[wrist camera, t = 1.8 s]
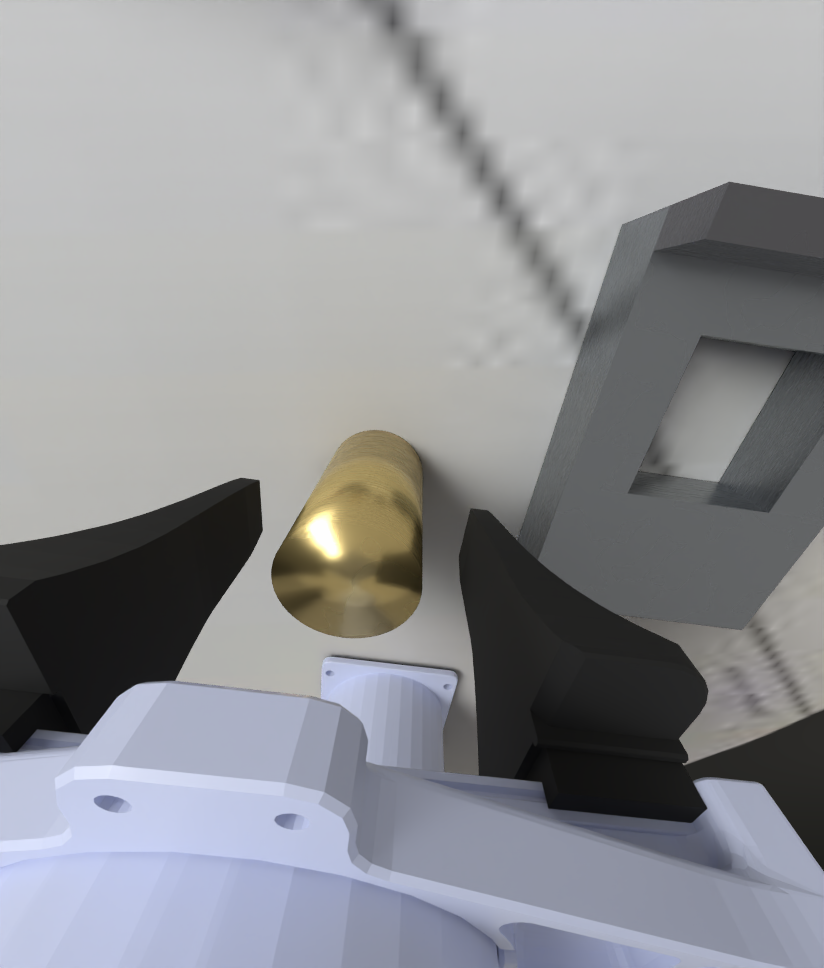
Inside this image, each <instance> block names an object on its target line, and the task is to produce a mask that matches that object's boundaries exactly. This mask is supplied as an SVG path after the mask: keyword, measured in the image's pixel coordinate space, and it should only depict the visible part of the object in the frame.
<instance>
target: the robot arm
mask: <svg viewBox="0 0 824 968" xmlns="http://www.w3.org/2000/svg"><path fill="white" fill-rule="evenodd" d="M262 531H263V527H262V512H261V497H260V482H259V480H254V479H246V478H239V479H235V480H232V481H230V482H227V483H224V484H222V485H219V486H217V487H214V488H212V489H210V490H207V491H205V492H202V493H200V494H197V495H195V496H192V497H190V498H187V499H185V500H182V501H179V502H177V503H174V504H171V505H168V506H166V507H163V508H160V509H158V510H155V511H152V512H149V513H146V514H143V515H140V516H136V517H133V518H130V519H126V520H123V521H119V522H116V523H112V524H108V525H104V526H100V527H95V528H91V529H87V530H82V531H78V532H73V533H69V534H64V535H59V536H54V537H49V538H43V539H38V540H31V541H25V542H19V543H13V544H6V545H0V968H824V872H823V870H822V869H821V867H820V866H819V865H818V863H817V862H816V860H815V859H814V857H813V856H812V855H811V853H810V852H809V850H808V849H807V848H806V846H805V845H804V843H803V842H802V840H801V839H800V837H799V836H798V835H797V833H796V832H795V830H794V829H793V828H792V826H791V825H790V823H789V822H788V821H787V819H786V818H785V816H784V815H783V813H782V812H781V810H780V809H779V808H778V806H777V805H776V803H775V802H774V801H773V799H772V798H771V796H770V795H769V793H768V792H767V790H766V789H765V788H764V786H763V785H762V784H759V783H757V782H751V781H742V780H732V779H723V778H714V777H711V778H710V777H708V778H701V779H697V780H694V781H693V782H692V780H691V778H690V776H689V775H688V773H687V771H686V769H685V767H684V766H683V764H682V763H686V762H687V761H688V754H687V752H686V751H685V749H684V747H683V746H682V744H681V742H680V740H679V737H680V736H681V735H682V734H683V733H684V732H685V730H686V729H687V728H688V727H689V726H690V725H691V723H692V722H693V721H694V720H695V719H696V718H697V716H698V715H699V714H700V712H701V711H702V709H703V707H704V706H705V704H706V701H707V695H708V688H707V685H706V682H705V680H704V678H703V677H702V676H701V674H700V673H699V672H698V670H697V669H696V668H695V666H694V665H693V664H692V662H691V661H690V660H689V658H688V657H687V656H686V654H685V653H684V651H683V650H682V649H681V647H680V646H679V645H678V644H676V643H674V642H672V641H669V640H667V639H665V638H663V637H661V636H659V635H657V634H655V633H652V632H650V631H648V630H646V629H644V628H642V627H640V626H637V625H635V624H634V623H632V622H630V621H628V620H626V619H624V618H622V617H620V616H619V615H617V614H615V613H613V612H611V611H609V610H608V609H606V608H604V607H603V606H601V605H599V604H598V603H596V602H594V601H593V600H591V599H590V598H588V597H587V596H585V595H583V594H582V593H580V592H579V591H577V590H576V589H574V588H573V587H571V586H570V585H569V584H567V583H566V582H564V581H563V580H562V579H560V578H559V577H558V576H557V575H555V574H554V573H553V572H551V571H550V570H549V569H548V568H546V567H545V566H544V565H543V564H542V563H540V562H539V561H538V560H537V559H536V558H535V557H534V556H533V555H532V554H530V553H529V552H528V551H527V550H526V549H525V548H524V547H523V546H522V545H521V544H520V543H519V542H518V541H517V540H516V539H515V538H514V537H513V536H512V535H511V534H510V533H509V532H508V531H507V530H506V529H505V527H504V526H503V525H502V524H501V523H500V522H499V521H498V520H497V519H496V518H495V517H494V516H493V515H492V514H491V513H490V512H489V511H487V510H479V509H472V508H471V510H470V514H469V518H468V522H467V526H466V530H465V534H464V538H463V542H462V546H461V550H460V554H459V569H460V583H461V589H462V595H463V600H464V606H465V611H466V616H467V622H468V627H469V633H470V638H471V645H472V653H473V666H474V679H475V695H476V711H477V733H478V759H479V776H478V775H468V774H459V773H449V772H444V751H443V728H444V725H445V722H446V719H447V715H448V712H449V709H450V705H451V702H452V699H453V696H454V692H455V689H456V686H457V682H458V678H457V674H456V673H455V672H454V671H451V670H442V669H434V668H425V667H417V666H408V665H399V664H391V663H382V662H374V661H365V660H356V659H348V658H339V657H327V658H325V659H324V661H323V664H322V680H321V699H320V698H316V697H313V696H306V695H297V694H288V693H279V692H270V691H261V690H252V689H243V688H234V687H225V686H216V685H207V684H198V683H189V682H180V681H175V680H176V678H177V676H178V674H179V672H180V670H181V668H182V666H183V664H184V662H185V660H186V658H187V656H188V654H189V652H190V650H191V648H192V646H193V645H194V643H195V641H196V639H197V637H198V635H199V634H200V632H201V630H202V628H203V626H204V624H205V623H206V621H207V619H208V618H209V616H210V614H211V613H212V611H213V610H214V608H215V607H216V605H217V604H218V602H219V601H220V599H221V598H222V596H223V595H224V594H225V592H226V591H227V589H228V588H229V586H230V585H231V583H232V582H233V581H234V579H235V578H236V576H237V575H238V573H239V572H240V570H241V569H242V567H243V566H244V565H245V563H246V562H247V560H248V559H249V557H250V556H251V554H252V552H253V550H254V548H255V546H256V544H257V542H258V540H259V538H260V535H261V533H262Z"/></svg>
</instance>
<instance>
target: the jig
mask: <svg viewBox="0 0 824 968" xmlns="http://www.w3.org/2000/svg"><path fill="white" fill-rule="evenodd" d="M700 337H706V338H712V339H719V340H725V341H732V342H738V343H745V344H751V345H757V346H764V347H770V348H777V349H783V350H790V351H796V353H795V354H794V356H793V358H792V360H791V361H790V363H789V365H788V366H787V368H786V370H785V371H784V373H783V375H782V377H781V378H780V380H779V382H778V383H777V385H776V387H775V388H774V390H773V392H772V394H771V395H770V397H769V399H768V400H767V402H766V404H765V405H764V407H763V409H762V410H761V412H760V414H759V416H758V417H757V419H756V421H755V422H754V424H753V426H752V427H751V429H750V431H749V433H748V434H747V436H746V438H745V439H744V441H743V443H742V444H741V446H740V448H739V449H738V451H737V453H736V455H735V456H734V458H733V460H732V461H731V463H730V465H729V466H728V468H727V470H726V472H725V473H724V475H723V477H722V478H721V480H720V482H719V483H718V482H711V481H703V480H696V479H689V478H682V477H675V476H668V475H660V474H653V473H646V472H639V471H638V470H639V468H640V466H641V463H642V461H643V459H644V457H645V455H646V453H647V451H648V448H649V446H650V444H651V442H652V440H653V438H654V436H655V433H656V431H657V429H658V427H659V425H660V423H661V421H662V418H663V416H664V414H665V412H666V410H667V408H668V406H669V403H670V401H671V399H672V397H673V395H674V393H675V391H676V388H677V386H678V384H679V382H680V380H681V378H682V376H683V373H684V371H685V369H686V367H687V365H688V363H689V361H690V358H691V356H692V354H693V352H694V350H695V348H696V346H697V343H698V341H699V339H700ZM823 527H824V198H820V197H815V196H809V195H803V194H797V193H791V192H786V191H780V190H774V189H768V188H762V187H756V186H751V185H745V184H739V183H733V182H728V183H725V184H723V185H720V186H718V187H715V188H713V189H710V190H708V191H705V192H703V193H700V194H698V195H695V196H693V197H690V198H688V199H685V200H683V201H680V202H678V203H675V204H673V205H670V206H668V207H665V208H663V209H660V210H658V211H655V212H653V213H650V214H648V215H645V216H643V217H640V218H638V219H635V220H633V221H630V222H628V223H625V224H623V225H622V227H621V230H620V233H619V236H618V239H617V242H616V245H615V248H614V251H613V254H612V257H611V260H610V263H609V266H608V269H607V272H606V275H605V278H604V281H603V284H602V287H601V290H600V293H599V296H598V299H597V303H596V306H595V309H594V312H593V315H592V318H591V321H590V324H589V327H588V330H587V333H586V336H585V339H584V342H583V345H582V348H581V351H580V354H579V357H578V360H577V363H576V366H575V369H574V372H573V375H572V378H571V381H570V384H569V387H568V390H567V393H566V396H565V399H564V402H563V405H562V408H561V411H560V414H559V417H558V420H557V423H556V426H555V429H554V432H553V435H552V438H551V442H550V445H549V448H548V451H547V454H546V457H545V460H544V463H543V466H542V469H541V472H540V475H539V478H538V481H537V484H536V487H535V490H534V493H533V496H532V499H531V502H530V505H529V508H528V511H527V514H526V517H525V520H524V523H523V526H522V529H521V532H520V535H519V538H518V542H519V543H520V544H521V545H522V546H523V547H524V548H525V549H526V550H527V551H528V552H529V553H530V554H532V555H533V556H534V557H535V558H536V559H537V560H538V561H539V562H540V563H542V564H543V565H544V566H545V567H546V568H548V569H549V570H550V571H551V572H553V573H554V574H555V575H557V576H558V577H559V578H560V579H562V580H563V581H564V582H566V583H567V584H569V585H570V586H571V587H573V588H574V589H576V590H577V591H579V592H580V593H582V594H583V595H585V596H587V597H588V598H590V599H591V600H593V601H594V602H596V603H598V604H599V605H601V606H603V607H604V608H606V609H608V610H609V611H611V612H613V613H615V614H617V615H625V616H633V617H641V618H649V619H657V620H666V621H674V622H682V623H690V624H698V625H706V626H714V627H722V628H730V629H738V630H742V629H743V628H744V627H745V626H746V624H747V623H748V622H749V621H750V619H751V618H752V617H753V615H754V614H755V613H756V612H757V610H758V609H759V608H760V607H761V605H762V604H763V603H764V602H765V600H766V599H767V598H768V596H769V595H770V594H771V593H772V591H773V590H774V589H775V588H776V586H777V585H778V584H779V582H780V581H781V580H782V579H783V577H784V576H785V575H786V574H787V572H788V571H789V570H790V568H791V567H792V566H793V565H794V563H795V562H796V561H797V560H798V558H799V557H800V556H801V555H802V553H803V552H804V551H805V549H806V548H807V547H808V546H809V544H810V543H811V542H812V541H813V539H814V538H815V537H816V535H817V534H818V533H819V532H820V530H821V529H822V528H823Z"/></svg>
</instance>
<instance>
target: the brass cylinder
mask: <svg viewBox="0 0 824 968" xmlns="http://www.w3.org/2000/svg"><path fill="white" fill-rule="evenodd" d="M422 496H423V474H422V465H421V462H420V459H419V457H418V455H417V453H416V452H415V450H414V449H413V448H412V446H411V445H410V444H409V443H408V442H406V441H405V440H404V439H402V438H401V437H399V436H397V435H395V434H392V433H389V432H386V431H379V430H369V431H363V432H360V433H357V434H355V435H353V436H351V437H349V438H348V439H347V440H345V441H344V442H343V443H342V444H341V445H340V447H339V448H338V450H337V451H336V453H335V455H334V456H333V458H332V460H331V461H330V463H329V465H328V466H327V468H326V470H325V472H324V473H323V475H322V477H321V478H320V480H319V482H318V483H317V485H316V487H315V489H314V490H313V492H312V494H311V495H310V497H309V499H308V500H307V502H306V504H305V506H304V507H303V509H302V511H301V512H300V514H299V516H298V518H297V519H296V521H295V523H294V524H293V526H292V528H291V529H290V531H289V533H288V535H287V536H286V538H285V540H284V541H283V543H282V545H281V546H280V548H279V550H278V552H277V553H276V555H275V558H274V560H273V564H272V571H271V578H272V584H273V588H274V591H275V593H276V595H277V597H278V599H279V601H280V602H281V604H282V605H283V606H284V607H285V609H286V610H287V611H288V612H289V613H290V614H291V615H292V616H293V617H295V618H296V619H297V620H299V621H300V622H301V623H303V624H305V625H306V626H308V627H310V628H312V629H314V630H316V631H319V632H322V633H325V634H328V635H332V636H337V637H343V638H366V637H372V636H377V635H381V634H384V633H387V632H389V631H391V630H393V629H395V628H397V627H398V626H400V625H401V624H403V623H404V622H405V621H406V620H407V619H408V618H409V617H410V616H411V615H412V614H413V612H414V611H415V610H416V608H417V606H418V604H419V602H420V598H421V595H422Z"/></svg>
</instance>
